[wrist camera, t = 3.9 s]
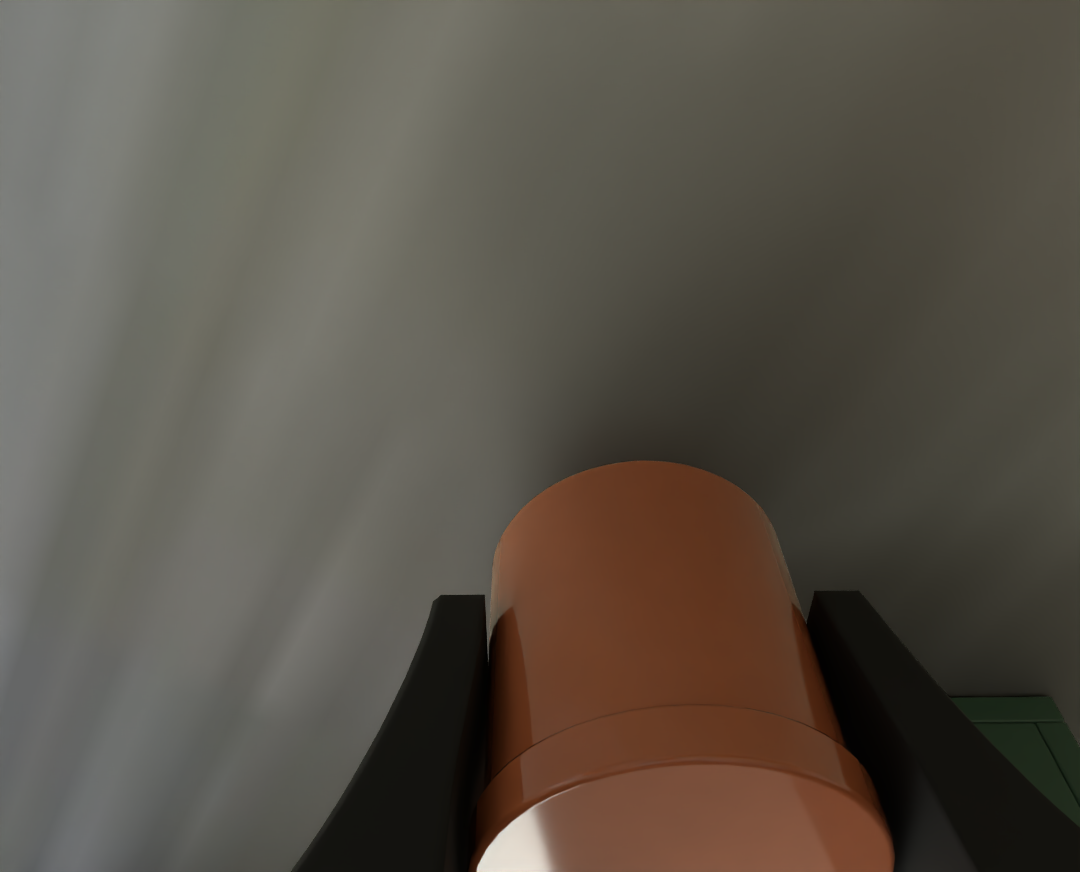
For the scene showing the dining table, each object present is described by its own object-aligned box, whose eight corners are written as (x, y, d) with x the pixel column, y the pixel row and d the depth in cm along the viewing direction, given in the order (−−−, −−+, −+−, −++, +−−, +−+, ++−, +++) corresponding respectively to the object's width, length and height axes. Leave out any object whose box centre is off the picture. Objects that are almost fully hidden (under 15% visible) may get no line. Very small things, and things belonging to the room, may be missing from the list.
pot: (487, 675, 16) (474, 993, 11) (475, 450, 13) (453, 762, 9) (765, 671, 16) (850, 987, 12) (812, 446, 13) (947, 756, 9)
